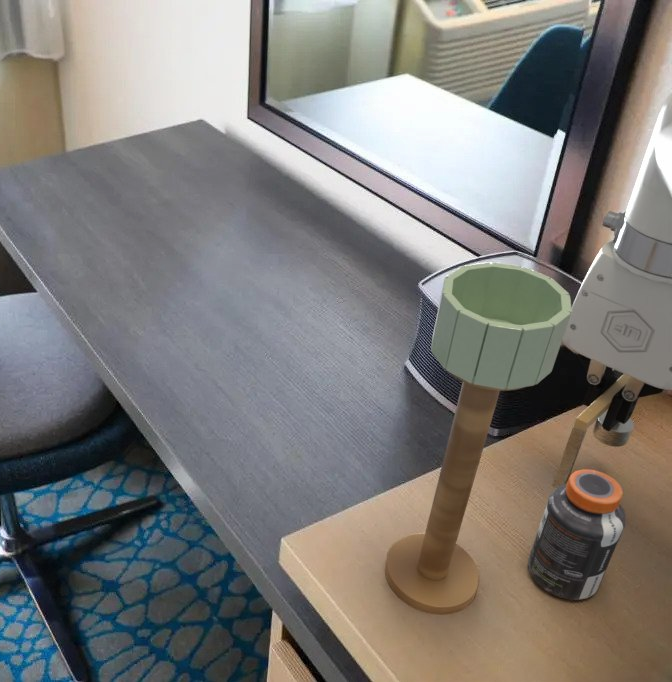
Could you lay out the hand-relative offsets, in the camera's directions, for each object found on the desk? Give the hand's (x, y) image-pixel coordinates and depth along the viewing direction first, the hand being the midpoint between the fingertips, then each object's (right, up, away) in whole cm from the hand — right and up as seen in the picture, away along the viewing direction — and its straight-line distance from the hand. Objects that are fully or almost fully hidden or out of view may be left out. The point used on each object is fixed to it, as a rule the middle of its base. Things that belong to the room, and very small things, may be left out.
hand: (603, 417), depth 73 cm
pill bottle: (-5, -14, -2) cm, 15 cm away
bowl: (-18, +6, -17) cm, 26 cm away
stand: (-17, -14, -2) cm, 22 cm away
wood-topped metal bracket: (0, -4, +3) cm, 5 cm away
